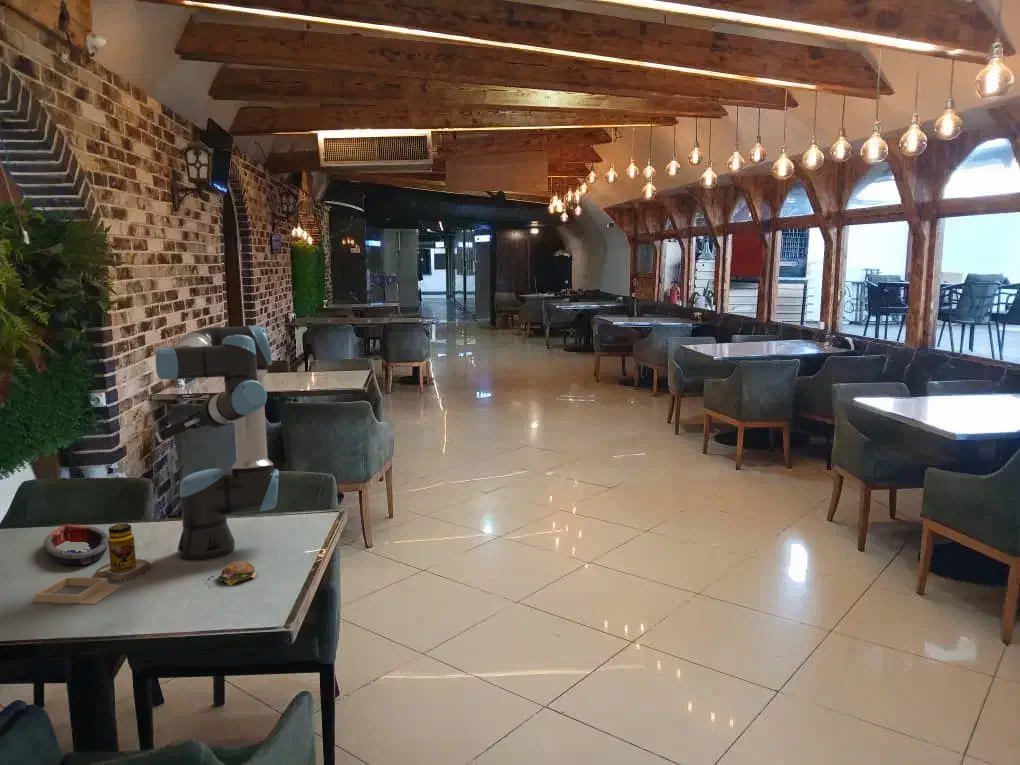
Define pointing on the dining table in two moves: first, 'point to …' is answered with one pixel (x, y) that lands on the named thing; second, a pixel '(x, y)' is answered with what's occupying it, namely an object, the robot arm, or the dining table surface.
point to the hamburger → (237, 572)
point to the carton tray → (88, 596)
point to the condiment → (121, 550)
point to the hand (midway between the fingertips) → (182, 427)
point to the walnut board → (126, 576)
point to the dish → (77, 534)
